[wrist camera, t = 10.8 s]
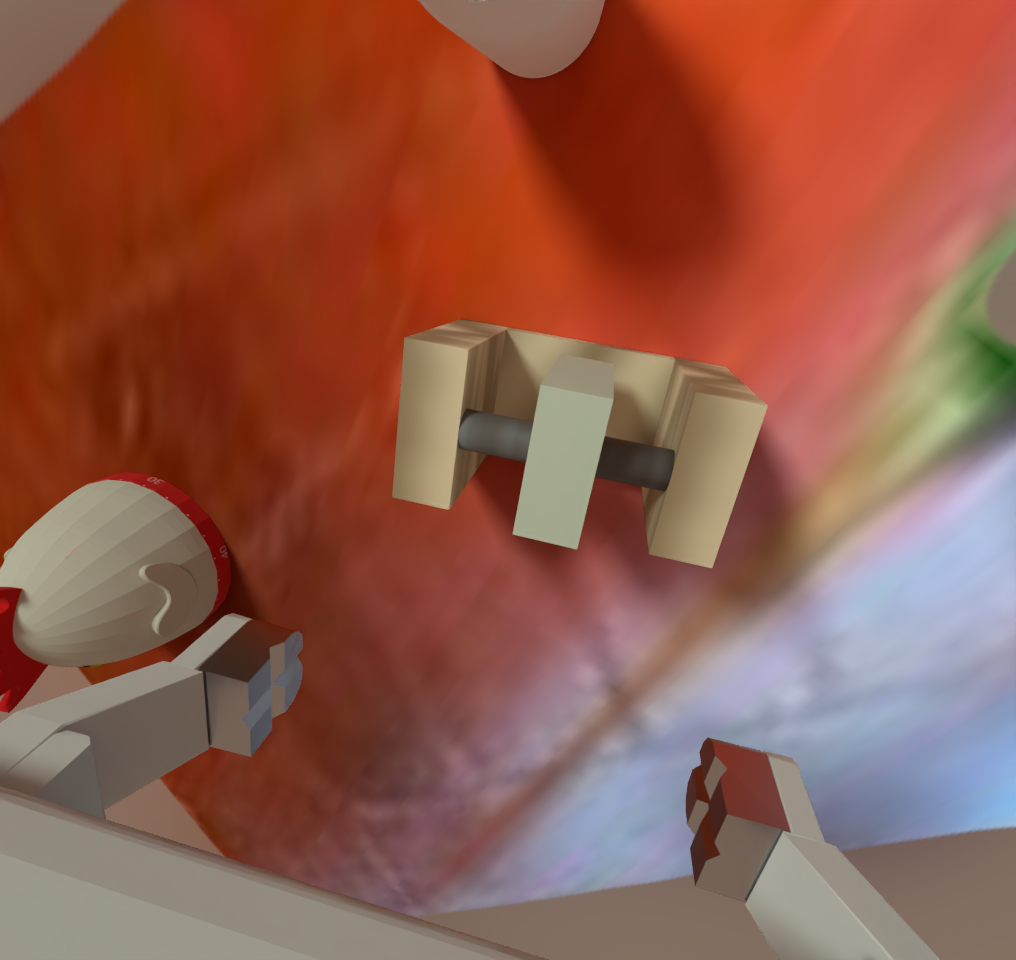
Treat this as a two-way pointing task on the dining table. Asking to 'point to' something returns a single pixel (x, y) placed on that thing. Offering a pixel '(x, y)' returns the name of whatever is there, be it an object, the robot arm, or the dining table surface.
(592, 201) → the dining table surface
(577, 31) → the cup
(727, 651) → the dining table surface
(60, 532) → the kitchen timer
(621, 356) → the wooden frame with rod
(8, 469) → the dining table surface
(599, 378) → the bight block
